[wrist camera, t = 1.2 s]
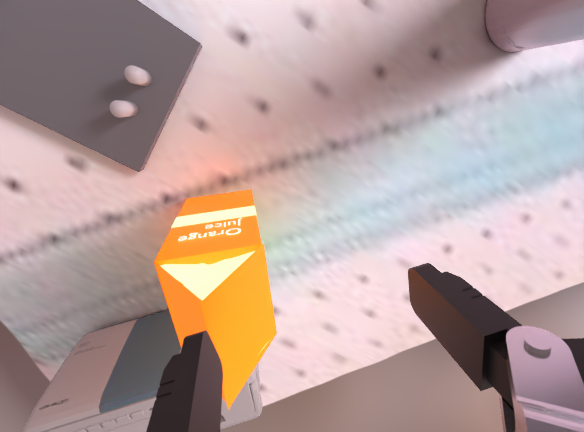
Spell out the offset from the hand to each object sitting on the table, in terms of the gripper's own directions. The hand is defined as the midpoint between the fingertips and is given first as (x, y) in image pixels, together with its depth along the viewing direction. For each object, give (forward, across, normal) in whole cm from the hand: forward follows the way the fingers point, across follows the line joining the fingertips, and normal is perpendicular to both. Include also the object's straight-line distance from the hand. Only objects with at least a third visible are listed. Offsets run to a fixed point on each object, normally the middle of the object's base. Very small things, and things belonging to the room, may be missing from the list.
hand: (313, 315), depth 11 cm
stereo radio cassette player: (+25, +17, +17) cm, 35 cm away
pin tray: (+24, +14, -15) cm, 32 cm away
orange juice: (+25, +6, +5) cm, 26 cm away
